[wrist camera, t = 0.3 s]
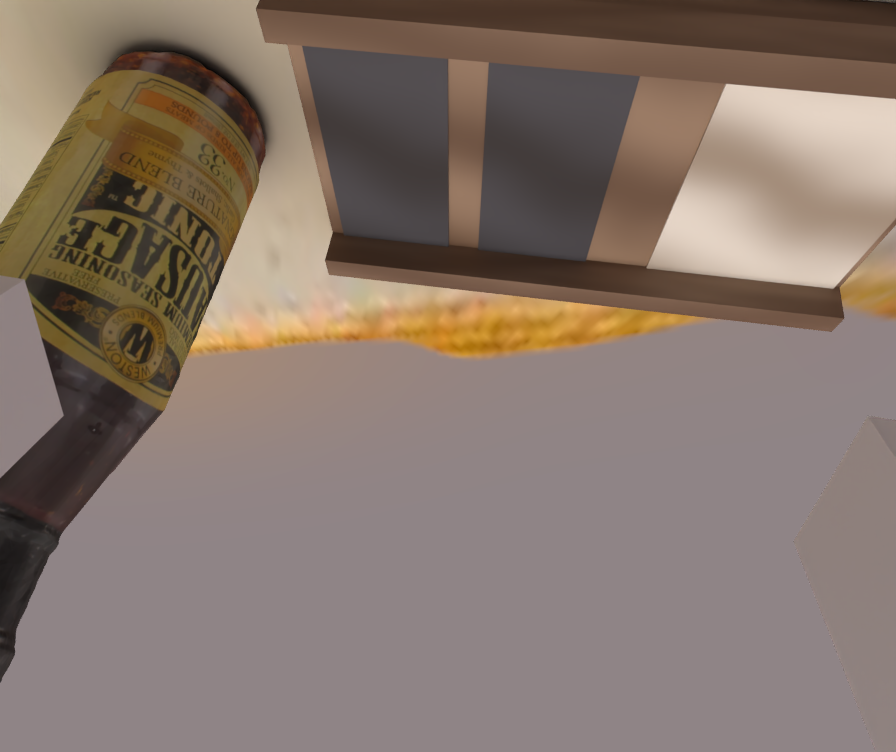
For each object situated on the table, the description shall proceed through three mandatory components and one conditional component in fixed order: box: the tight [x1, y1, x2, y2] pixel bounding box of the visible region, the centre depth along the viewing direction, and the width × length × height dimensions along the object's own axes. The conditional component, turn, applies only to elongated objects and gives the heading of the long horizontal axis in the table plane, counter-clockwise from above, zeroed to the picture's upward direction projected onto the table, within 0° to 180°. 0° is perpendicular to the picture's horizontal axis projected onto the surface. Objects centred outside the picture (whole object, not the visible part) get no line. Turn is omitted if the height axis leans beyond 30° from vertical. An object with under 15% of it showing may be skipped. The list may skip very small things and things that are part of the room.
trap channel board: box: [256, 0, 896, 332], centre depth 23 cm, size 12×21×2 cm, turn 90°
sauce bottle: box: [0, 51, 265, 682], centre depth 20 cm, size 7×6×20 cm
